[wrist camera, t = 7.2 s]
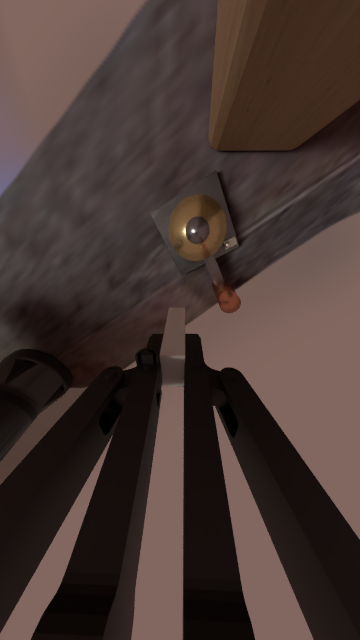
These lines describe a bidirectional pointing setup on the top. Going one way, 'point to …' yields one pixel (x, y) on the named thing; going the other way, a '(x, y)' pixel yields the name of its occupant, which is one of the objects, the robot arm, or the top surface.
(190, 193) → the level base
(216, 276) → the crank handle
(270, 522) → the robot arm
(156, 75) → the top surface
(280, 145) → the wooden block
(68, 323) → the top surface
